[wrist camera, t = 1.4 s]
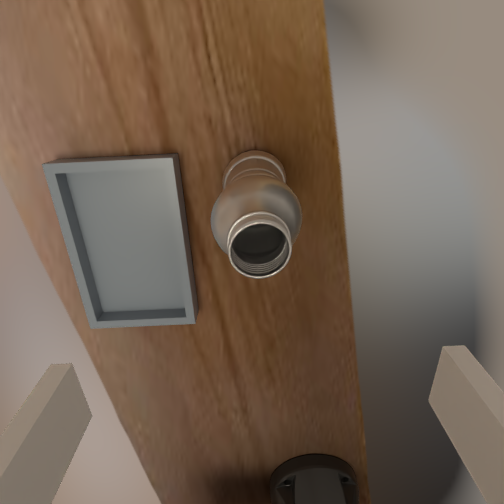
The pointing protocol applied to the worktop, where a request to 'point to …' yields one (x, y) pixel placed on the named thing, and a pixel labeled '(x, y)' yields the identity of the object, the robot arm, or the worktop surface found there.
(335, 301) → the worktop surface
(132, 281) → the tray
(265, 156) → the plastic bottle
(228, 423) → the worktop surface
